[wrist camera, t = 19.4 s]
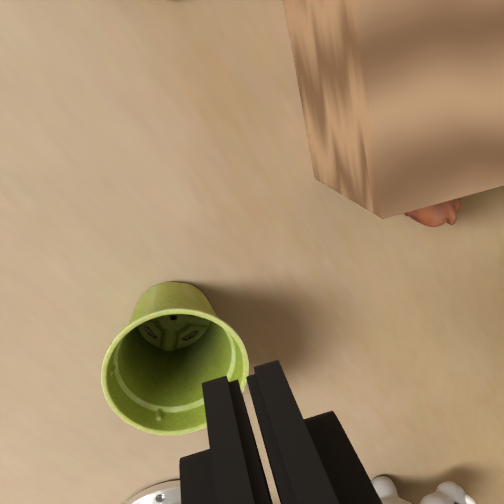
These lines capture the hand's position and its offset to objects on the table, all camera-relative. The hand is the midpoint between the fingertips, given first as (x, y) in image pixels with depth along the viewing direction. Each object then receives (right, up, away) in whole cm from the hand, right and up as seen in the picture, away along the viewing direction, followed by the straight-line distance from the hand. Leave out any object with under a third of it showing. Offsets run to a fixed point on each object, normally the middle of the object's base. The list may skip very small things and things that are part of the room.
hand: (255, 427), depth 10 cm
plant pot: (-6, -1, +29) cm, 29 cm away
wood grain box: (+9, +18, +25) cm, 32 cm away
